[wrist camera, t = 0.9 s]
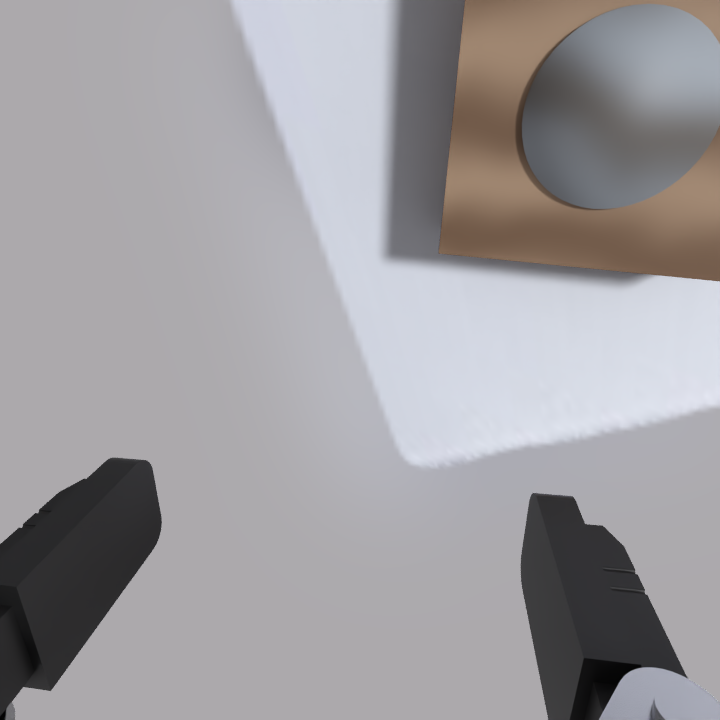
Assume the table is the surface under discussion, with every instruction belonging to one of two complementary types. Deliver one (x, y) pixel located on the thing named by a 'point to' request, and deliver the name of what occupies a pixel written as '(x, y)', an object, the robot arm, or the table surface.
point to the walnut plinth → (588, 136)
